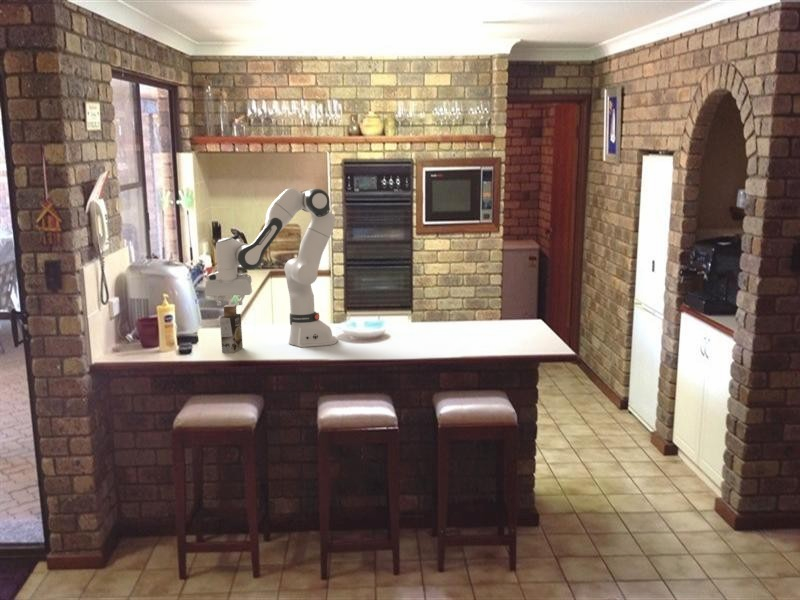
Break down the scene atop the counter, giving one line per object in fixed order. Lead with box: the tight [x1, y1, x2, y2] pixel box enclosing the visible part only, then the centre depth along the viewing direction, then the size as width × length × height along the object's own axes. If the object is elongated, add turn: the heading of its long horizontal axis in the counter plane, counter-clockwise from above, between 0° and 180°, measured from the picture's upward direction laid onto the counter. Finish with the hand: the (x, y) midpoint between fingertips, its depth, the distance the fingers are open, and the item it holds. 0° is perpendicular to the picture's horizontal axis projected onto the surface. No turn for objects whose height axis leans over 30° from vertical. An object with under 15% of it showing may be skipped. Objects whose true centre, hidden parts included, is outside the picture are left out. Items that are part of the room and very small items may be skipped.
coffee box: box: [219, 313, 243, 354], centre depth 332 cm, size 9×6×16 cm
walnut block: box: [223, 304, 238, 317], centre depth 330 cm, size 4×4×4 cm
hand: (229, 305), depth 330 cm, fingers open, 8 cm apart
